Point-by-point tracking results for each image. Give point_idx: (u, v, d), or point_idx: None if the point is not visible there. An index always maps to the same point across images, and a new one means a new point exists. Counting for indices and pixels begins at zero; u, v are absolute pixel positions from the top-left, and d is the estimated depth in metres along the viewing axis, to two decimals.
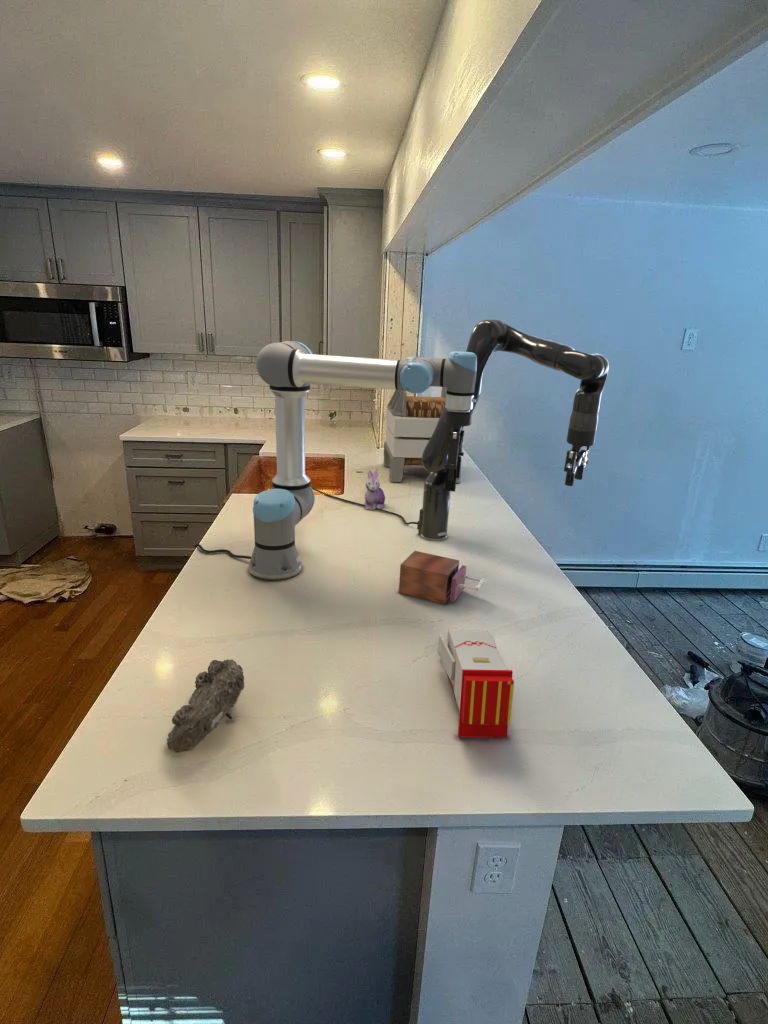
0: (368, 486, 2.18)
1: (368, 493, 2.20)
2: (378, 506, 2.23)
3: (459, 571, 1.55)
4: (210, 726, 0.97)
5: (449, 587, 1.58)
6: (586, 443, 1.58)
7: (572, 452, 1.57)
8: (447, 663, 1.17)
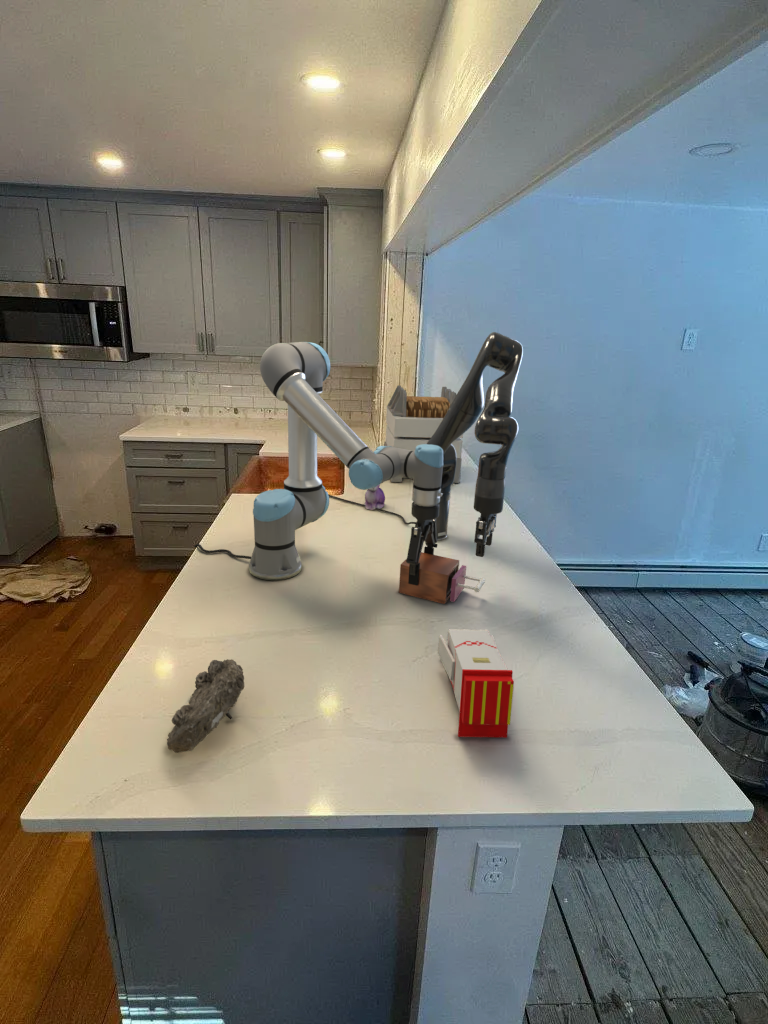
0: None
1: (368, 493, 2.20)
2: (378, 506, 2.23)
3: (459, 571, 1.55)
4: (210, 726, 0.97)
5: (449, 587, 1.58)
6: None
7: None
8: (447, 663, 1.17)
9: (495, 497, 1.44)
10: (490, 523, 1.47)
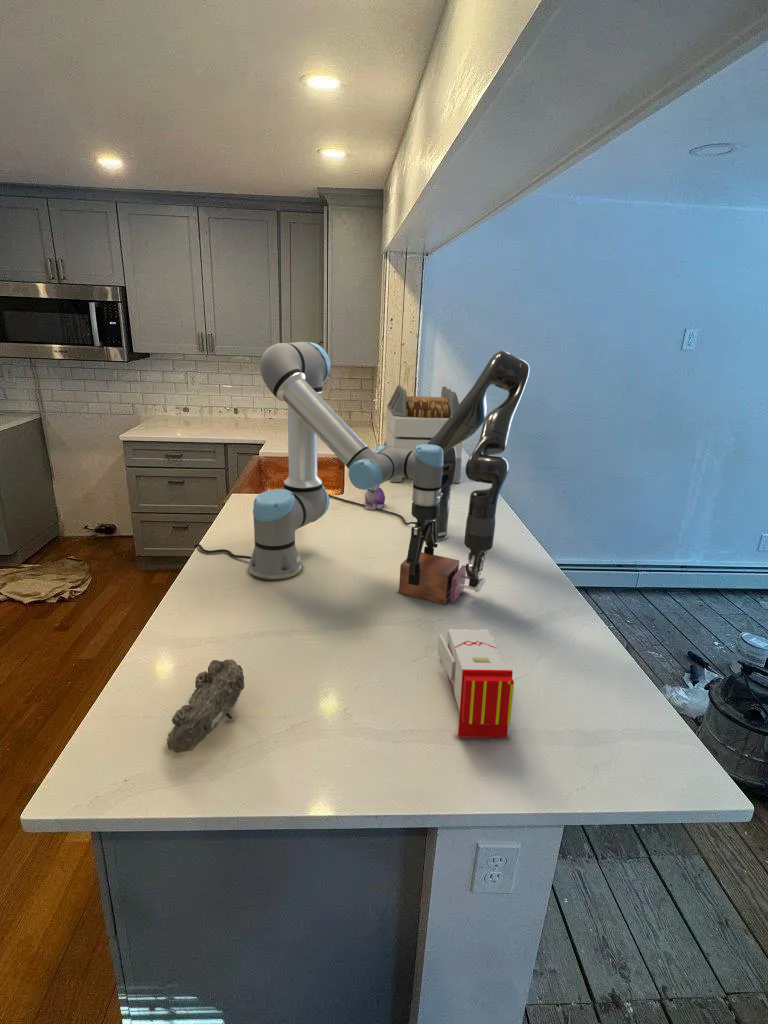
0: None
1: (368, 493, 2.20)
2: (378, 506, 2.23)
3: (459, 571, 1.55)
4: (210, 726, 0.97)
5: (449, 587, 1.58)
6: None
7: None
8: (447, 663, 1.17)
9: (485, 535, 1.45)
10: (480, 561, 1.49)
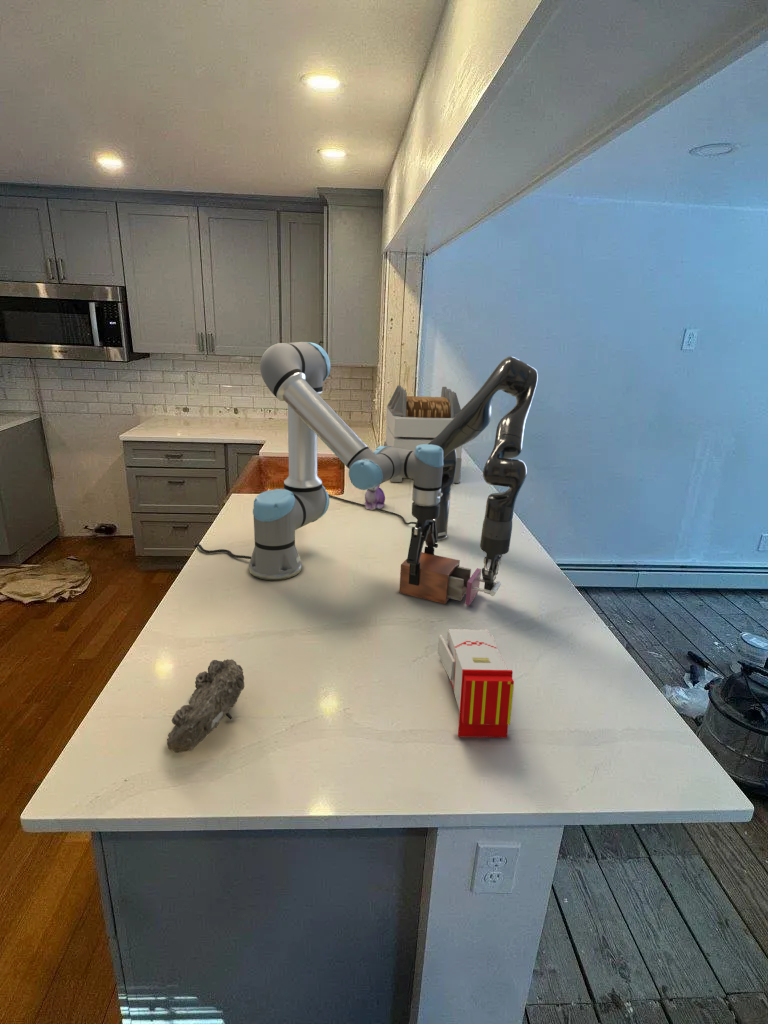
0: None
1: (368, 493, 2.20)
2: (378, 506, 2.23)
3: (474, 574, 1.54)
4: (210, 726, 0.97)
5: (464, 590, 1.57)
6: None
7: None
8: (447, 663, 1.17)
9: (502, 539, 1.44)
10: (496, 565, 1.48)
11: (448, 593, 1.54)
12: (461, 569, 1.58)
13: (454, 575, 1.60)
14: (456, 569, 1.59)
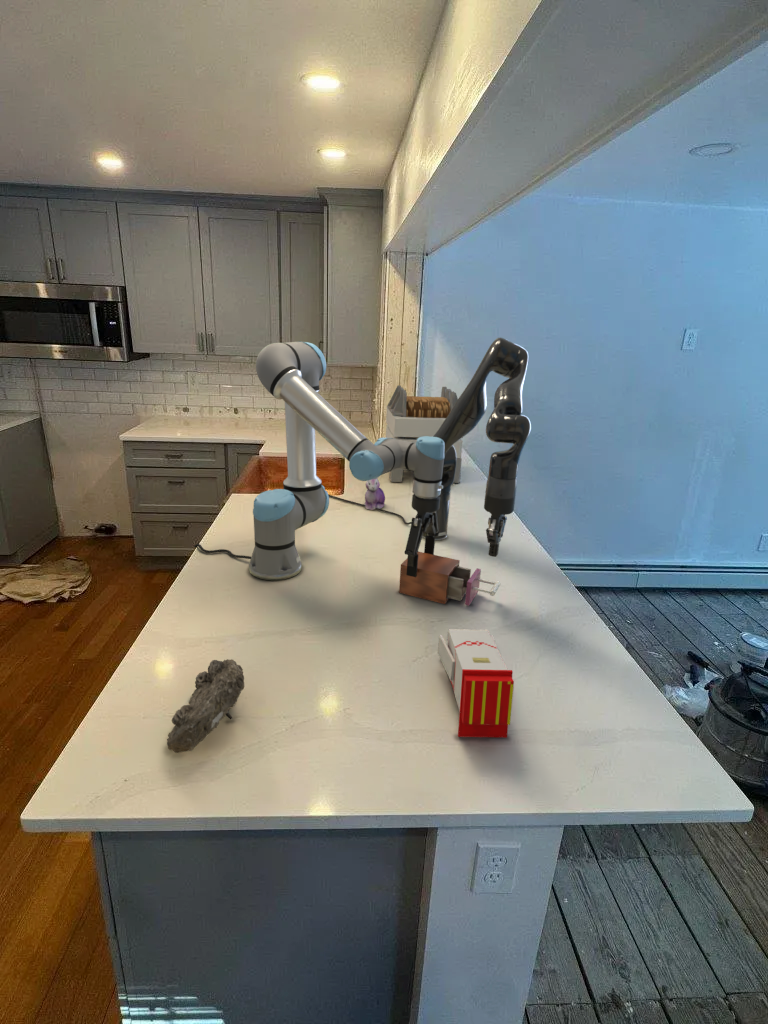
0: (368, 486, 2.18)
1: (368, 493, 2.20)
2: (378, 506, 2.23)
3: (474, 574, 1.54)
4: (210, 726, 0.97)
5: (463, 590, 1.57)
6: None
7: None
8: (447, 663, 1.17)
9: (506, 497, 1.40)
10: (501, 525, 1.44)
11: (448, 593, 1.54)
12: (461, 569, 1.58)
13: (454, 575, 1.60)
14: (456, 569, 1.59)
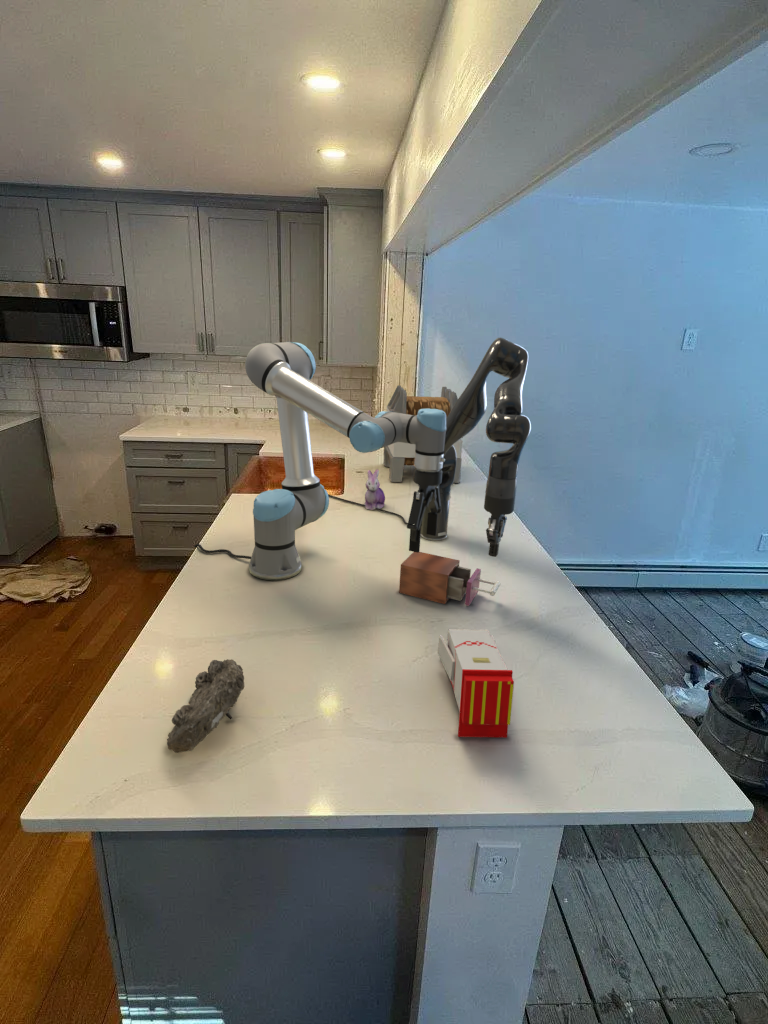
0: (368, 486, 2.18)
1: (368, 493, 2.20)
2: (378, 506, 2.23)
3: (474, 574, 1.54)
4: (210, 726, 0.97)
5: (463, 590, 1.57)
6: None
7: None
8: (447, 663, 1.17)
9: (506, 497, 1.40)
10: (501, 525, 1.44)
11: (448, 593, 1.54)
12: (461, 569, 1.58)
13: (454, 575, 1.60)
14: (456, 569, 1.59)
